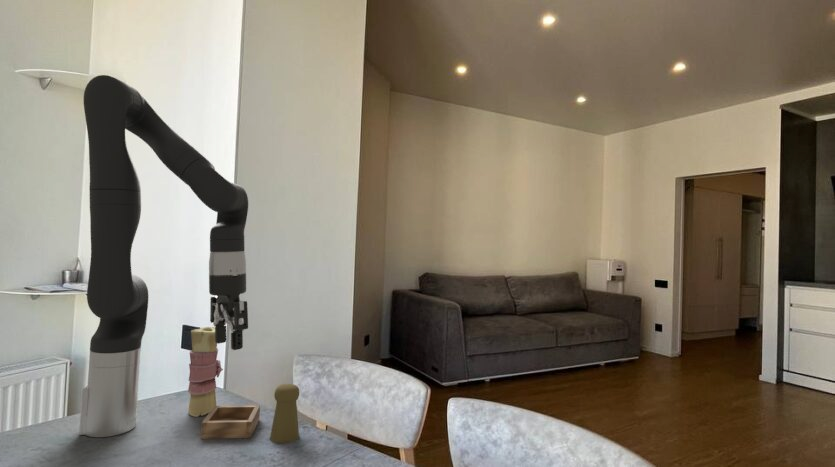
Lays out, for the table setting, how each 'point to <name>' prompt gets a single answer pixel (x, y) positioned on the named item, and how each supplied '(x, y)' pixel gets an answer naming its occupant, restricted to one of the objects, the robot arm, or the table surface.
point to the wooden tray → (230, 422)
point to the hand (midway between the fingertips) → (228, 345)
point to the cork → (285, 414)
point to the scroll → (203, 371)
